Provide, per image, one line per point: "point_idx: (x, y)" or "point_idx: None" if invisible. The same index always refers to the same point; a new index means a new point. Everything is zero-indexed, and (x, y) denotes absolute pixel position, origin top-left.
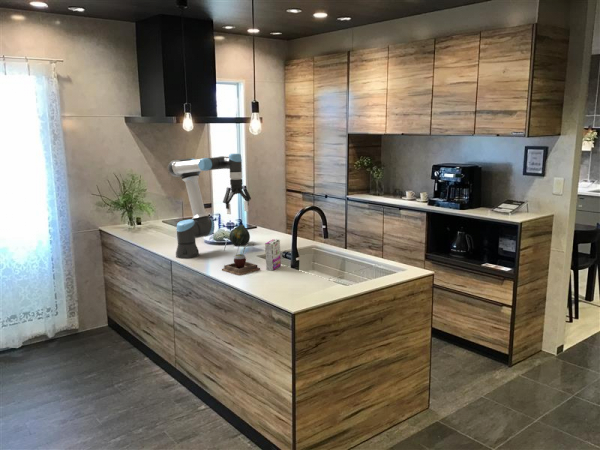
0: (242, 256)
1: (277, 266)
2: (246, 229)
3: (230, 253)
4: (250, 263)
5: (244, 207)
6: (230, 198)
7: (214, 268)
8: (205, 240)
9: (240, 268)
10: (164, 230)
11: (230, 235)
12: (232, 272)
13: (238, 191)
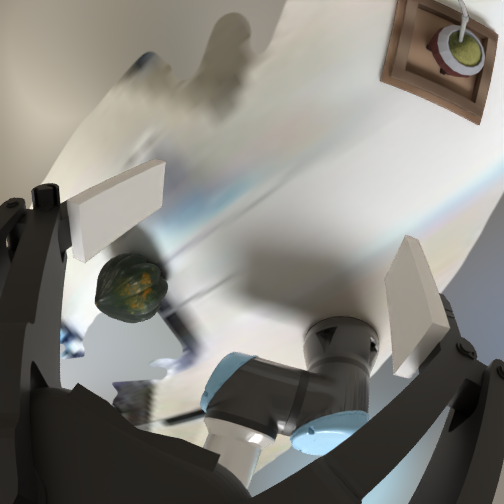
0: (468, 31)
1: None
2: (100, 281)
3: (252, 235)
4: (409, 24)
5: (139, 219)
6: (431, 406)
7: (465, 167)
8: (178, 369)
9: (483, 33)
10: None
11: (153, 312)
12: (493, 65)
13: (82, 461)
